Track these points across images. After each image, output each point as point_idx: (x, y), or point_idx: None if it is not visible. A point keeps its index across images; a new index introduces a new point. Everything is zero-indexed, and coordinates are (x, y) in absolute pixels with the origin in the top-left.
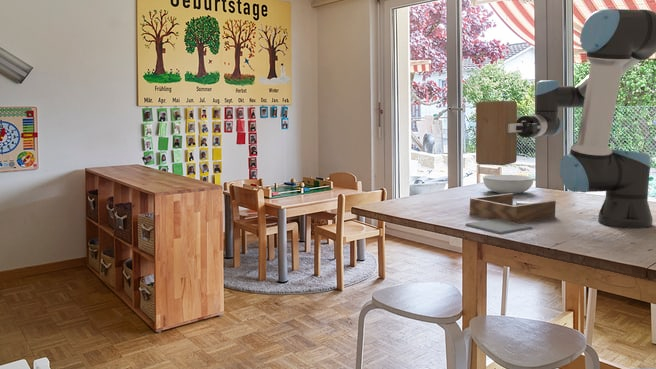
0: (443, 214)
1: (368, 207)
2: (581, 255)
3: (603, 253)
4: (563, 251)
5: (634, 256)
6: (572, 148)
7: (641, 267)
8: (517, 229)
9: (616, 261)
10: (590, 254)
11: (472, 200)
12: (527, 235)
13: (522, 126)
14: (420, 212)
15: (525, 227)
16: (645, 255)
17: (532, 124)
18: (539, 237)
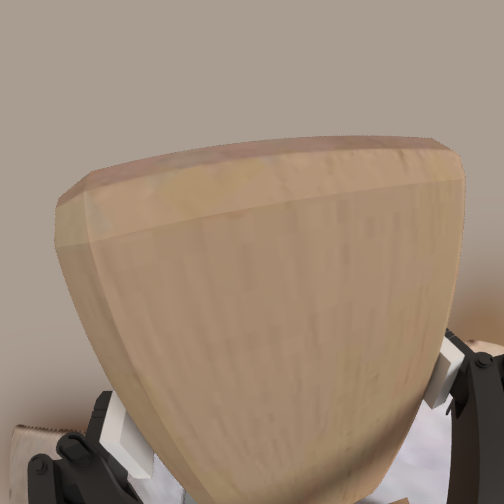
0: (410, 454)
1: (488, 350)
2: (63, 431)
3: (45, 452)
4: (82, 433)
5: (21, 458)
6: None
7: (18, 425)
8: (186, 491)
9: (34, 431)
10: (56, 440)
11: (396, 502)
12: (154, 477)
13: (93, 424)
14: (440, 418)
15: None
16: (12, 467)
17: (32, 463)
18: (133, 478)
